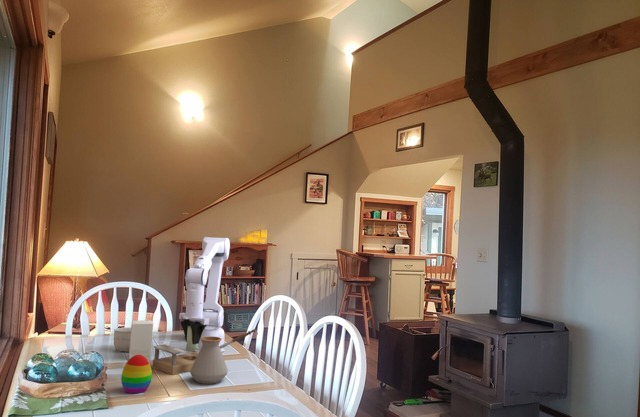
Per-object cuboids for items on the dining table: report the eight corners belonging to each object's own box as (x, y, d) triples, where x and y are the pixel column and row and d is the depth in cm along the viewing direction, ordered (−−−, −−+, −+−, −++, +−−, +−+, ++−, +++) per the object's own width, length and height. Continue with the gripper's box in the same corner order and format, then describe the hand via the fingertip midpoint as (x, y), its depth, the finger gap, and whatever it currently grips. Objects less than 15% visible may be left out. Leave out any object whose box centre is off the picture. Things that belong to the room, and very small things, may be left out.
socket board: (197, 358, 177) (198, 339, 177) (218, 365, 169) (219, 345, 169) (152, 367, 163) (153, 346, 163) (172, 375, 155) (174, 352, 155)
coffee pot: (195, 387, 144) (199, 336, 145) (185, 377, 154) (188, 329, 155) (262, 380, 155) (264, 332, 156) (248, 370, 165) (250, 325, 166)
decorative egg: (115, 394, 135) (118, 357, 135) (127, 385, 143) (129, 350, 144) (145, 395, 135) (147, 359, 135) (154, 386, 143) (157, 352, 144)
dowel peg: (192, 348, 170) (194, 325, 170) (198, 350, 168) (199, 326, 168) (184, 349, 167) (185, 326, 168) (190, 351, 165) (191, 327, 166)
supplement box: (150, 359, 172) (153, 323, 173) (128, 360, 170) (131, 323, 170) (150, 354, 179) (153, 319, 180) (129, 355, 177) (131, 320, 177)
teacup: (106, 351, 181) (107, 329, 181) (127, 345, 191) (129, 324, 191) (135, 356, 176) (136, 333, 176) (156, 350, 186) (157, 329, 186)
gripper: (172, 301, 170) (170, 340, 169) (197, 306, 161) (195, 348, 160) (189, 299, 176) (187, 338, 175) (215, 305, 166) (212, 345, 165)
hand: (192, 342), depth 168 cm, fingers closed on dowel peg, 3 cm apart
